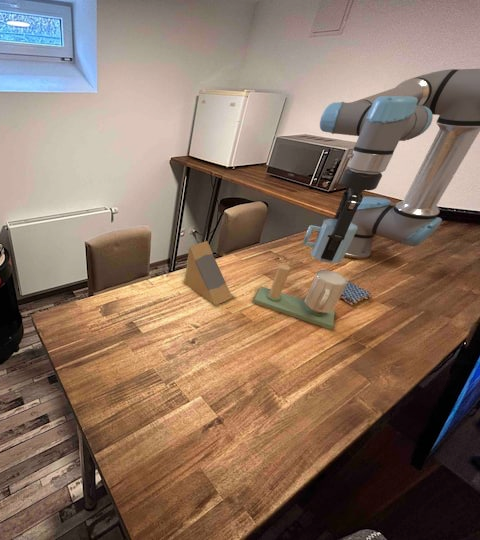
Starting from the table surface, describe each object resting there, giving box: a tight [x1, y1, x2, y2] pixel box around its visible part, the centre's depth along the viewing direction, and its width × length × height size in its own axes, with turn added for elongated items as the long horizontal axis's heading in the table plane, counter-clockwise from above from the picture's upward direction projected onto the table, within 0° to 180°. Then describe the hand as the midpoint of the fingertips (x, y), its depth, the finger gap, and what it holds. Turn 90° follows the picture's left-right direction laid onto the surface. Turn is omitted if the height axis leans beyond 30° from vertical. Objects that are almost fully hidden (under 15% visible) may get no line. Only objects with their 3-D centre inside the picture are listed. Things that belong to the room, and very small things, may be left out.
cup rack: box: [253, 263, 336, 331], centre depth 90 cm, size 9×22×14 cm, turn 56°
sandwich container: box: [184, 240, 233, 306], centre depth 97 cm, size 9×15×15 cm, turn 31°
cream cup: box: [303, 269, 348, 313], centre depth 84 cm, size 8×10×10 cm
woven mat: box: [339, 280, 372, 306], centre depth 99 cm, size 10×11×2 cm
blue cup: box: [302, 218, 357, 264], centre depth 81 cm, size 8×10×10 cm
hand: (327, 252), depth 82 cm, fingers closed on blue cup, 8 cm apart
